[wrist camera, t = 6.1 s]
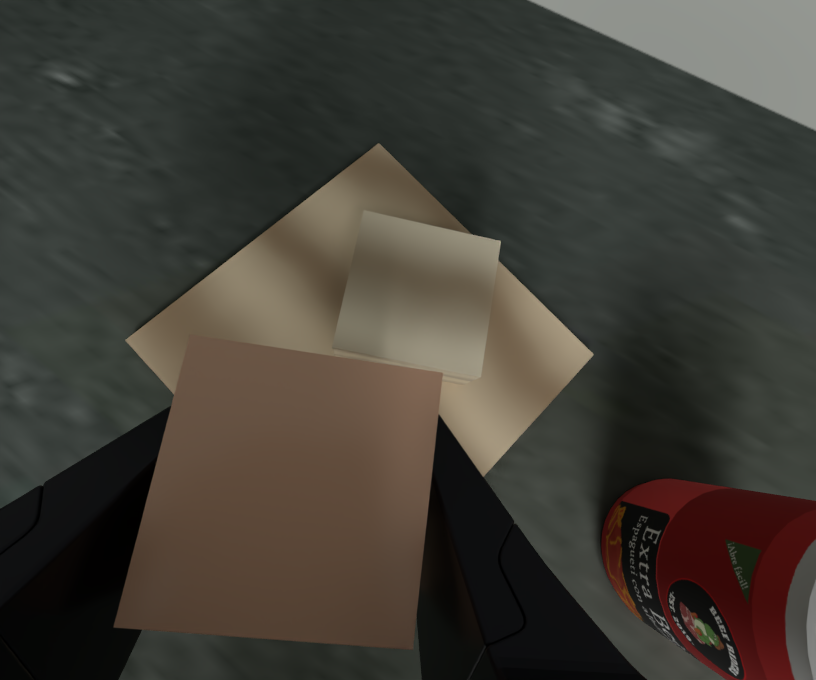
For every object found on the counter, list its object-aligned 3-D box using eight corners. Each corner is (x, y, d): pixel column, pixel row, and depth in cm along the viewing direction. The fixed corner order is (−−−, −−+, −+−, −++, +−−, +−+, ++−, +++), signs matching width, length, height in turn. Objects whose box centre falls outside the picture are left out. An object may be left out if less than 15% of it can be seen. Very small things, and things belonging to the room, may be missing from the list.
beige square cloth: (365, 601, 21) (365, 606, 20) (131, 342, 22) (125, 340, 21) (588, 356, 25) (593, 354, 24) (378, 149, 26) (379, 143, 25)
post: (371, 518, 15) (412, 650, 6) (259, 505, 15) (113, 627, 5) (387, 407, 16) (442, 372, 7) (282, 392, 16) (189, 334, 6)
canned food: (578, 495, 23) (768, 553, 12) (703, 461, 24) (977, 487, 13) (620, 647, 21) (877, 864, 11) (752, 603, 23) (1100, 759, 12)
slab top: (471, 381, 21) (480, 377, 19) (334, 353, 21) (331, 347, 19) (490, 255, 23) (500, 241, 21) (363, 227, 22) (363, 210, 20)
